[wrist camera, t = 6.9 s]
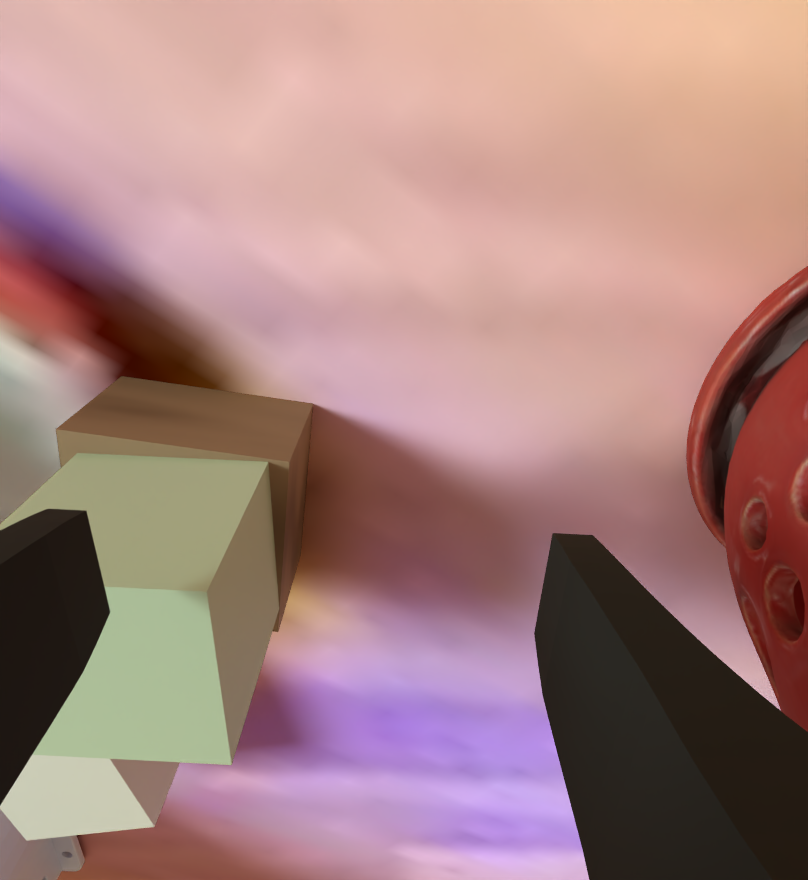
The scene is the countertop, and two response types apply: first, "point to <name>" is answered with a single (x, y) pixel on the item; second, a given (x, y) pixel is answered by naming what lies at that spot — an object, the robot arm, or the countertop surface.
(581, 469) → the countertop surface
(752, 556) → the plant pot
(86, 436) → the walnut block
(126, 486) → the sage cube
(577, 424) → the countertop surface
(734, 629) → the countertop surface
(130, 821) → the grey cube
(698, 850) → the robot arm
